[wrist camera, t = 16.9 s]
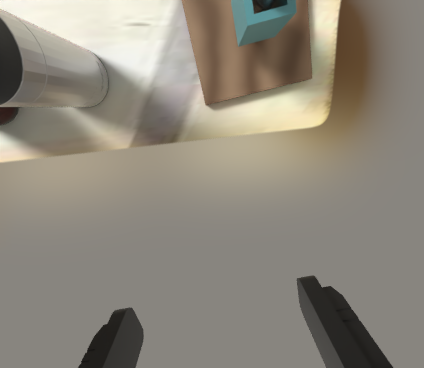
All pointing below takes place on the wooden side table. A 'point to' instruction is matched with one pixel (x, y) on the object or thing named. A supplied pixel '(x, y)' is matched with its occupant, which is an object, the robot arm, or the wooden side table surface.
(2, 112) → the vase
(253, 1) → the pipe
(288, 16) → the sleeve
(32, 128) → the wooden side table surface
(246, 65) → the stand board
